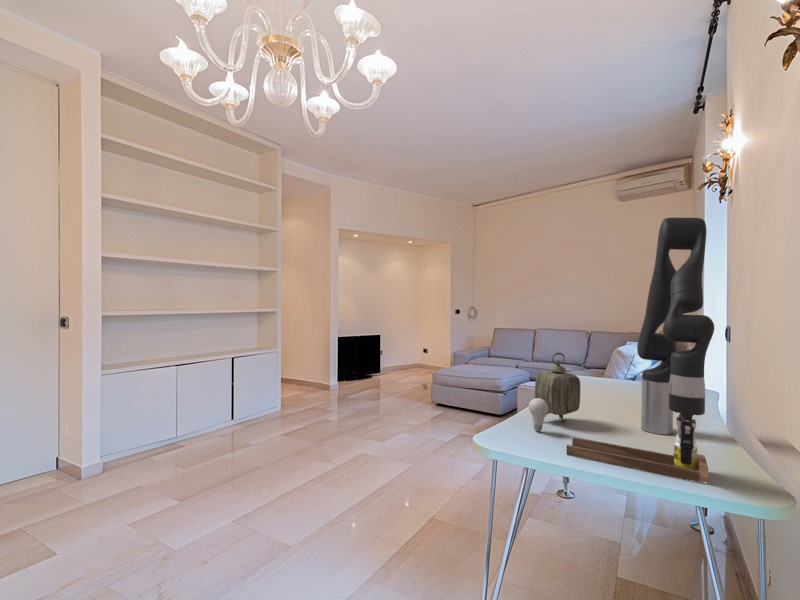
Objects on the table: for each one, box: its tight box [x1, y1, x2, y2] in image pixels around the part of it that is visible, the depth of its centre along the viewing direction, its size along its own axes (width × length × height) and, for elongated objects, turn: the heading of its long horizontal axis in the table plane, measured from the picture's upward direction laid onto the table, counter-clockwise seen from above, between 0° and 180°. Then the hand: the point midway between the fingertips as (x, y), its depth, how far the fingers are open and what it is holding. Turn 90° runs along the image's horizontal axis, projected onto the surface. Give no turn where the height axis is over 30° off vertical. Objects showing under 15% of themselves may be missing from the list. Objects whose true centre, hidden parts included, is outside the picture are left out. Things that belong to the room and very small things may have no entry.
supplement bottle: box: [673, 433, 698, 470], centre depth 103 cm, size 5×5×8 cm
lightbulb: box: [528, 397, 548, 433], centre depth 134 cm, size 6×6×11 cm
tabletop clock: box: [534, 352, 581, 425], centre depth 146 cm, size 14×9×25 cm, turn 121°
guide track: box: [566, 436, 709, 484], centre depth 109 cm, size 10×32×4 cm, turn 57°
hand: (685, 460), depth 103 cm, fingers closed on supplement bottle, 4 cm apart
